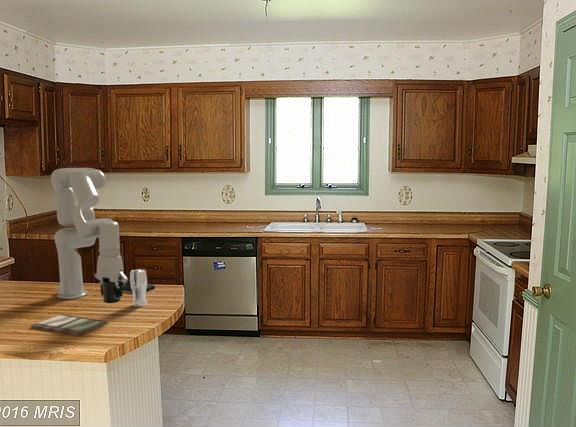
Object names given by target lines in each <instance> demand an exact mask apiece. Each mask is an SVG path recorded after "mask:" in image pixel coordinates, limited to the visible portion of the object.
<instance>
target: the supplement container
mask: <svg viewBox="0 0 576 427" xmlns="http://www.w3.org/2000/svg"><path fill="white" fill-rule="evenodd" d="M118 280H119V279H118ZM118 283H119V281H118ZM102 285H103V296H102V300H103V303H104V304H116V303H118V302H120V301H121V299H122V296H121V297H119V298H116V292H115V289H116V288H117V287H116V285H115V282H110V279H109V278H104V277H102Z"/></svg>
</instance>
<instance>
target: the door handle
mask: <svg viewBox="0 0 576 427" xmlns="http://www.w3.org/2000/svg"><path fill="white" fill-rule="evenodd" d="M155 288H156V286H155V285H154V284H147V288H146V292H148V291H152V290H154V289H155ZM123 292H124V293H130V294H133V293H132V289H131V284H130V282H126V283H125V284H124V286H123V287H122V293H123Z"/></svg>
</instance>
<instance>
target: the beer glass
mask: <svg viewBox="0 0 576 427" xmlns="http://www.w3.org/2000/svg"><path fill="white" fill-rule="evenodd" d="M129 273H130V274H129V283H130V284H131V289H132V293H131V294H132V298H133V299H132V306H133V307H138V308H139V307H140V308H141V307H144V306H147V304H148V301H147V296H146V295H147V291H146V288H147V285H148V276H147V269H145V268H143V269H142V268H140V269H139V268H138V269H132V270H131V271H130V272H129Z"/></svg>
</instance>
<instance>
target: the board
mask: <svg viewBox="0 0 576 427" xmlns="http://www.w3.org/2000/svg"><path fill="white" fill-rule="evenodd" d="M107 324H108V320H103V319H102V320H101V319H96V318H91V317H82V316H76V315H71V314H62V313H60V314H58V315H55V316H51V317H50V318H46V319H44V320H41V321H39V322H36V323H34V324H31V325H30V327H31V329H36V330H41V331H47V332H53V333H57V334H58V333H60V334H64V335H71V336H77V337H80V336H83V335H85V334H87V333H89V332H91V331H94V330H96V329H98V328H100V327H103V326H105V325H107Z"/></svg>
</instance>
